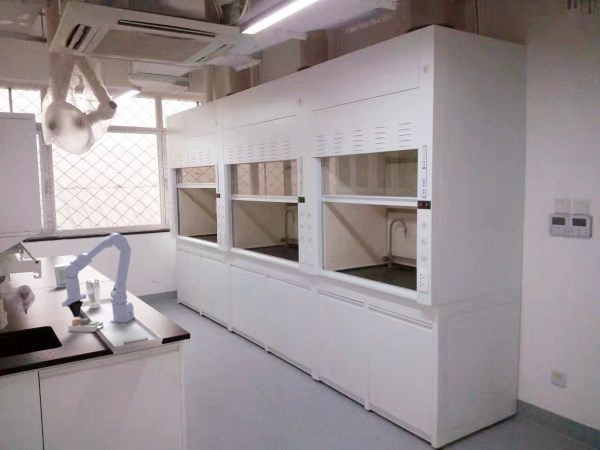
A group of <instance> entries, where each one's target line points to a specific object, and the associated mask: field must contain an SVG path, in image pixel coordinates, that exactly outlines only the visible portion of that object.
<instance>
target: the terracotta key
mask: <svg viewBox="0 0 600 450" xmlns="http://www.w3.org/2000/svg"><path fill="white" fill-rule="evenodd" d="M82 319H83V318H82V317H81V318H80V317H75V318H74V319H72V320H71V324H73V325H79V324H80V320H82Z"/></svg>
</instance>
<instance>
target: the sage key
mask: <svg viewBox="0 0 600 450" xmlns="http://www.w3.org/2000/svg"><path fill="white" fill-rule="evenodd" d="M98 322H99V321H92V322H91V323H89V325H96V324H98Z"/></svg>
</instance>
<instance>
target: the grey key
mask: <svg viewBox="0 0 600 450" xmlns="http://www.w3.org/2000/svg"><path fill="white" fill-rule="evenodd" d="M90 319H91V318H86V317H84V318H82V320H80V324H81V325H88V324H89V323H90V321H91V320H90Z"/></svg>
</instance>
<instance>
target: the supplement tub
mask: <svg viewBox="0 0 600 450" xmlns="http://www.w3.org/2000/svg"><path fill="white" fill-rule="evenodd" d="M67 265H70V263H61V264H56V265H53V266H54V275H55V282H56V287H57V288H59V289H61V288H66V279H65V277H66V275H65V273H64V268H65V267H66V266H67Z"/></svg>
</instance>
